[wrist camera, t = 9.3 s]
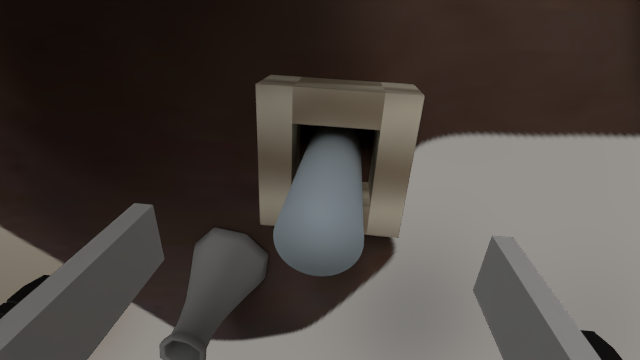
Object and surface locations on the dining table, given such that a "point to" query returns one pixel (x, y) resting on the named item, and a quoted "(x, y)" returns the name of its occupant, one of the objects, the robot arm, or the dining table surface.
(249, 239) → the flask
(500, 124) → the dining table surface
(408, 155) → the socket block
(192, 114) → the dining table surface
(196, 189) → the dining table surface
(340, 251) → the peg
